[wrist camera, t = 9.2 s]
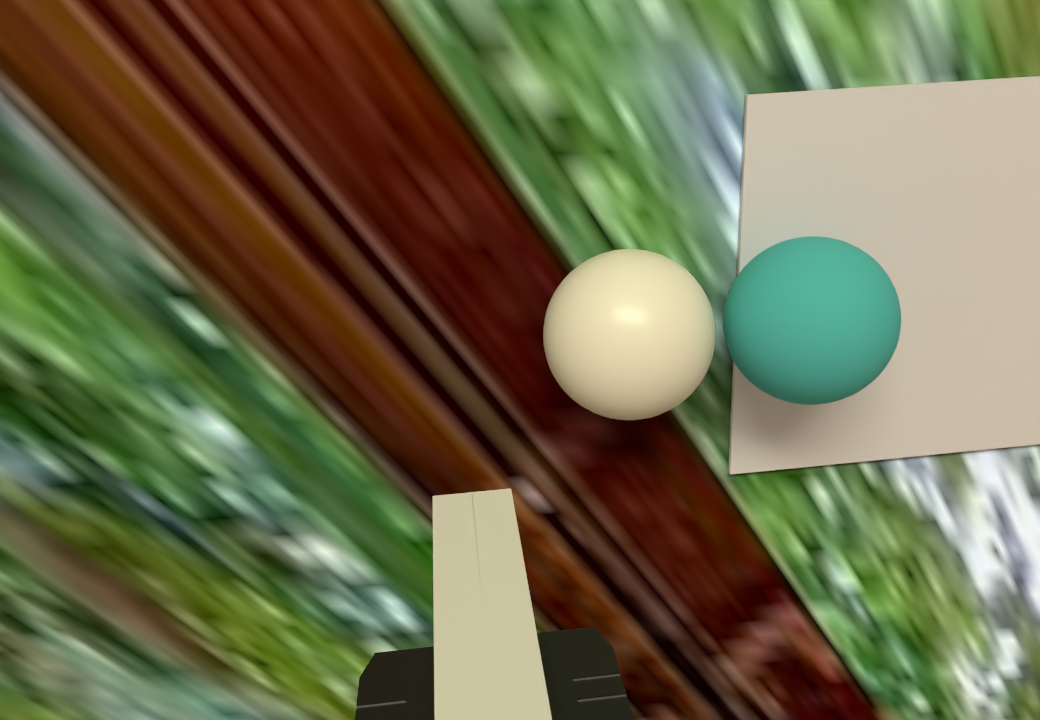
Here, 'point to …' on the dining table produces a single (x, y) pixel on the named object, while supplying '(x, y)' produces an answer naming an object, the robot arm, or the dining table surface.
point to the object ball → (812, 320)
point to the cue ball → (629, 334)
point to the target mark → (906, 262)
